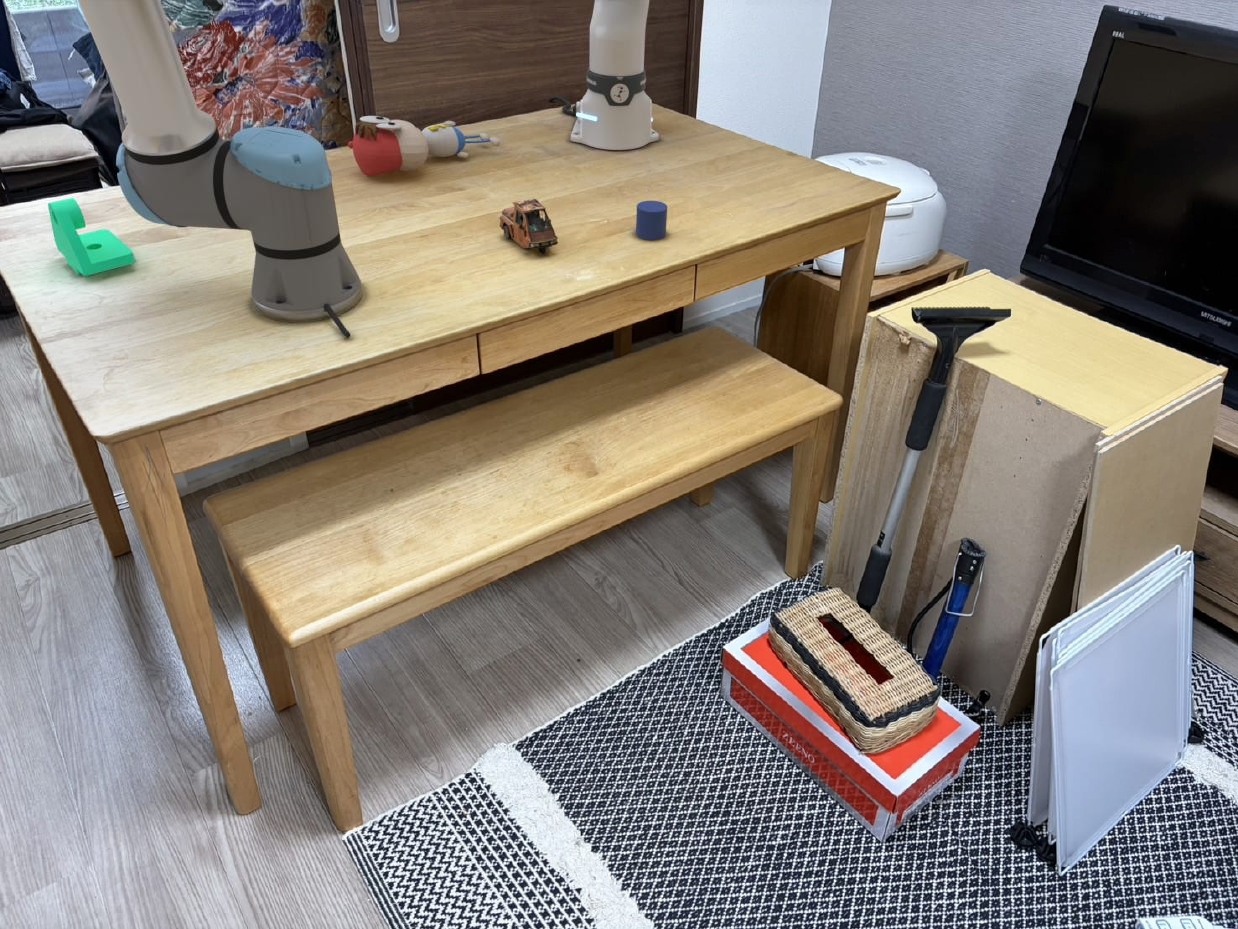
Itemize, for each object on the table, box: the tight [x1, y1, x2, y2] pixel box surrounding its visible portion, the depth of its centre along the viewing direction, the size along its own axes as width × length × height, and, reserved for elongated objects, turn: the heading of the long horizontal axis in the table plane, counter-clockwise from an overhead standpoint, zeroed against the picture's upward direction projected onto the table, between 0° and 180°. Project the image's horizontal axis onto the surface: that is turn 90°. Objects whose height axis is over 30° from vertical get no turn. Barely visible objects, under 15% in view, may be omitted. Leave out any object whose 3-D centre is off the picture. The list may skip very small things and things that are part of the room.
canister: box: [635, 200, 668, 241], centre depth 155 cm, size 5×5×5 cm
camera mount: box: [47, 197, 136, 277], centre depth 139 cm, size 12×8×10 cm, turn 42°
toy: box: [347, 115, 502, 177], centre depth 180 cm, size 18×10×30 cm
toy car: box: [499, 198, 559, 255], centre depth 150 cm, size 6×12×7 cm, turn 39°
